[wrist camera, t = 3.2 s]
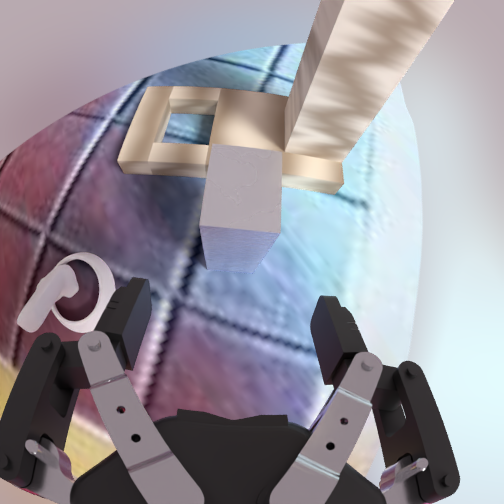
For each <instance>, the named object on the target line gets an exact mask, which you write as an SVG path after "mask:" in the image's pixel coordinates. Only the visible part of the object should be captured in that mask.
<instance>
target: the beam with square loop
mask: <svg viewBox="0 0 504 504" xmlns="http://www.w3.org/2000/svg"><path fill="white" fill-rule="evenodd" d="M453 2H454V0H321V2H320V5H319V8H318V11H317V14H316V16H315V19H314V22H313V25H312V28H311V31H310V34H309V37H308V40H307V43H306V46H305V49H304V52H303V55H302V58H301V61H300V64H299V67H298V70H297V73H296V76H295V80H294V83H293V86H292V89H291V92H290V95H289V97H287V96H281V95H275V94H269V93H262V92H254V91H246V90H237V89H226V88H212V87H190V86H154V87H147V89H146V91H145V94H144V96H143V98H142V100H141V102H140V104H139V107H138V109H137V111H136V113H135V116H134V118H133V120H132V123H131V125H130V128H129V130H128V133H127V135H126V138H125V140H124V143H123V146H122V149H121V151H120V154H119V157H118V160H117V161H118V163H119V165H120V167H121V169H122V171H123V173H124V174H146V175H167V176H183V177H196V178H206V177H207V171H208V166H209V160H210V154H211V149H212V144H222V145H232V146H242V147H250V148H258V149H266V150H273V151H280V152H282V187H288V188H295V189H301V190H308V191H314V192H321V193H327V194H332V195H335V194H336V192H337V191H338V190H339V189H340V188H341V187H342V185H343V184H344V179H343V169H342V162H343V160H344V159H345V158H346V156H347V155H348V154H349V152H350V151H351V149H352V148H353V147H354V145H355V144H356V143H357V141H358V140H359V138H360V137H361V136H362V134H363V133H364V131H365V130H366V129H367V127H368V126H369V125H370V123H371V122H372V120H373V119H374V118H375V116H376V115H377V113H378V112H379V111H380V109H381V108H382V106H383V105H384V103H385V102H386V101H387V99H388V98H389V96H390V95H391V94H392V92H393V91H394V89H395V88H396V86H397V85H398V84H399V82H400V81H401V79H402V78H403V76H404V75H405V73H406V72H407V71H408V69H409V68H410V66H411V65H412V63H413V62H414V60H415V59H416V57H417V56H418V55H419V53H420V52H421V50H422V49H423V47H424V46H425V44H426V43H427V41H428V40H429V38H430V37H431V35H432V34H433V32H434V31H435V29H436V28H437V26H438V25H439V23H440V22H441V20H442V19H443V17H444V16H445V14H446V13H447V11H448V10H449V8H450V6H451V5H452V3H453ZM171 113H184V114H204V115H215V117H214V122H213V127H212V131H211V136H210V141H209V145H197V144H180V143H162V140H163V137H164V134H165V131H166V128H167V125H168V122H169V119H170V116H171Z"/></svg>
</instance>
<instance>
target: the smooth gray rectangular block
mask: <svg viewBox="0 0 504 504" xmlns="http://www.w3.org/2000/svg"><path fill="white" fill-rule="evenodd" d="M281 194H282V152H280V151H273V150H266V149H258V148H250V147H242V146H232V145H222V144H212V149H211V154H210V160H209V166H208V171H207V177H206V183H205V190H204V196H203V202H202V209H201V216H200V223H199V227H200V233H201V238H202V244H203V249H204V255H205V260H206V265H207V270H215V271H225V272H236V273H247V274H253V273H254V272H255V270H256V269H257V267H258V266H259V264H260V263H261V261H262V260H263V258H264V257H265V255H266V254H267V252H268V251H269V249H270V248H271V247H272V245H273V244H274V242H275V241H276V239H277V238H278V236H279V235H280V228H281Z"/></svg>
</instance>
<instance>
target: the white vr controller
mask: <svg viewBox="0 0 504 504" xmlns="http://www.w3.org/2000/svg"><path fill="white" fill-rule="evenodd" d="M75 259H80V260H83V261H85V262H87V263H88V264H89V265H90V266H92V268H93V269H94V271H95V273H96V275H97V277H98V281H99V297H98V302H97V304H96V307H95V308H94V310H93V311H92V313H91V314H90V315H89V316H88V317H86V318H85V319H83V320H80V321H69V320H67V319H65V318H63V317H62V316H61V315H60V313H59V312H58V310H57V308H56V305H55V302H56V301H58V300H59V299H60V298H61V297H62V296H65V297H68V298H70V297H72V296H73V295H74V294H75V293H77V292H78V289H79V287H78V283H77V280H76V276H75V272H74V271H73V269H72V268H71V267H70V266H69V265H66V263H68V262H69V261H71V260H75ZM115 291H116V290H115V282H114V278H113V275H112V273H111V271H110V269H109V267H108V266H107V264H106V263H105V262H104V261H103V260H102V259H101V258H100V257H98V256H96V255H94V254H91V253H88V252H80V253H75V254H71V255H69V256H67V257H65V258H64V259H63V260H61V261H60V262H59V263H58V264H57V265H56V266H55V268H54V269H53V270H52V271H51V272H50V273H49V274H48V275H47V276H46V277H44V278H42V279H41V280H40V283H39V284H38V285H37V288H36V291H35V293H34V294H33V295H32V297H31V298H30V299H29V301H28V302H27V304H26V305H25V306H24V308H23V309H22V311H21V313H20V314H19V316H18V319H17V324H18V325H19V326H20V327H22V328H23V329H24V330H26V331H27V332H35V331H36V330H37V329H38V328H39V327H40V326H41V325H42V323H43V322H44V320H45V318H46V317H47V315H48V313H49V311H50V310H51V309H52V311H53V313H54V315H55V316H56V318H57V319H58V320H59V321H60V322H61V323H62V324H63V325H64V326H66V327H67V328H68V329H70V330H72V331H75V332H80V333H86V332H91V331H93V330H94V329H95V327H96V325H97V323H98V321H99V319H100V317H101V315H102V313H103V311H104V309H105V308H106V306H107V304H108V302H109V300H110V298H111V296H112V295H113V293H114V292H115Z"/></svg>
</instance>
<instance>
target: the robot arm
mask: <svg viewBox="0 0 504 504" xmlns="http://www.w3.org/2000/svg"><path fill="white" fill-rule="evenodd" d="M151 310H152V304H151V295H150V286H149V280H148V279H143V278H136V277H132V279H131V280H130V282H129V284H128V286H127V287H122V286H121V287H120V288H119V289H118V290H116V291H115V292H114V293H113V295H112V296H111V298H110V300H109V302H108V304H107V306H106V308H105V309H104V311H103V313H102V315H101V317H100V319H99V321H98V323H97V325H96V327H95V329H94V331H91V332H88V333H86V334H84V335H83V336H82V337H81V338H80V340H79V341H70V342H61V340H60V338H59V337H58V336H57V335H56V334H54V333H44V334H42V335H40V336H39V337H37V339H36V340H35V341H34V343H33V345H32V347H31V349H30V351H29V353H28V355H27V357H26V359H25V361H24V363H23V365H22V368H21V370H20V372H19V374H18V376H17V379H16V381H15V383H14V386H13V388H12V391H11V393H10V396H9V398H8V401H7V403H6V406H5V409H4V412H3V414H2V417H1V420H0V478H2V479H4V480H6V481H7V482H9V483H11V484H13V485H14V486H16V487H18V488H20V489H22V490H24V491H26V492H29V493H31V494H33V495H37V496H40V497H42V498H46V499H49V500H51V501H54V502H56V503H58V504H432V503H434V502H437V501H439V500H441V499H444V498H446V497H448V496H450V495H452V494H454V493H455V492H456V490H457V489H458V486H459V483H460V476H459V471H458V468H457V465H456V461H455V457H454V454H453V450H452V447H451V445H450V441H449V438H448V435H447V432H446V429H445V426H444V423H443V420H442V418H441V415H440V412H439V410H438V407H437V405H436V402H435V399H434V397H433V395H432V392H431V390H430V387H429V385H428V382H427V380H426V377H425V375H424V373H423V371H422V369H421V368H420V366H418V365H417V364H416V363H414V362H411V361H404V362H402V363H401V364H400V365H399V367H398V368H396V367H391V366H386V365H382V362H381V361H380V359H379V358H378V357H377V356H375V355H374V354H372V353H369V352H368V350H367V348H366V345H365V343H364V341H363V338H362V336H361V334H360V331H359V330H358V327H357V325H356V324H355V320H354V318H353V316H352V314H351V313H350V312H349V311H348V310H347V309H346V308H345V307H341V306H340V303H339V301H338V299H337V297H336V296H320V297H319V299H318V302H317V305H316V308H315V310H314V313H313V316H312V319H311V324H310V329H311V334H312V338H313V342H314V345H315V349H316V353H317V357H318V361H319V365H320V369H321V373H322V377H323V381H324V385H332V384H333V386H334V390H333V391H332V393H331V395H330V396H329V398H328V400H327V401H326V403H325V405H324V406H323V408H322V410H321V411H320V413H319V415H318V416H317V418H316V419H315V421H314V422H313V424H312V425H311V427H310V428H309V429H306V428H304V427H303V426H300V425H298V424H295V423H292V422H288V418H287V415H259V416H254V417H249V418H244V419H238V420H230V419H226V418H223V417H219V416H216V415H213V414H210V413H206V412H200V411H191V410H183V409H178V411H177V415H176V416H169V417H165V418H162V419H159V420H157V421H154V422H152V421H151V419H150V417H149V416H148V414H147V412H146V410H145V409H144V407H143V405H142V403H141V402H140V400H139V398H138V396H137V394H136V392H135V390H134V389H133V387H132V385H131V383H130V381H129V379H128V377H127V375H126V374H125V373H124V371H125V369H127V370H132V371H133V368H134V365H135V362H136V358H137V355H138V352H139V349H140V346H141V343H142V340H143V337H144V334H145V331H146V328H147V325H148V322H149V319H150V316H151ZM89 388H90V390H91V393H92V396H93V398H94V401H95V403H96V406H97V408H98V411H99V413H100V415H101V418H102V420H103V422H104V424H105V427H106V429H107V431H108V433H109V435H110V437H111V439H112V441H113V443H114V445H115V447H116V449H117V450H116V451H115V452H113V453H112V454H111V455H109V456H108V457H107V458H105V459H104V460H102V461H101V462H100V463H98V464H97V465H96V466H94V467H93V468H91V469H90V470H88V471H87V472H86V473H84V474H83V475H81V476H80V477H79V478H78V479H77V480H76V481H75V480H74V478H73V476H72V473H71V462H70V459H69V457H68V456H67V455H66V453H65V452H64V447H65V442H66V438H67V434H68V430H69V426H70V422H71V418H72V414H73V411H74V407H75V404H76V400H77V397H78V393H79V390H80V389H89ZM401 404H402V406H403V409H404V412H405V416H406V419H405V416H404V412H403V409H402V406H401ZM371 408H372V410H373V414H374V418H375V422H376V426H377V430H378V434H379V439H380V443H381V448H382V452H383V457H384V462H385V467H386V469H385V470H384V472H383V473H382V476H381V481H380V483H379V486H380V489H379V488H378V487H376V486H375V485H374V484H372V483H371V482H370V481H369V480H367V479H366V478H365V477H364V476H362V475H361V474H360V473H359V472H357V471H356V470H355V469H354V468H352V467H351V466H350V465H349V464H348V463H346V462H347V460H348V458H349V456H350V454H351V452H352V450H353V448H354V446H355V444H356V442H357V440H358V438H359V436H360V434H361V431H362V429H363V427H364V425H365V422H366V420H367V418H368V416H369V413H370V411H371Z"/></svg>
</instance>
